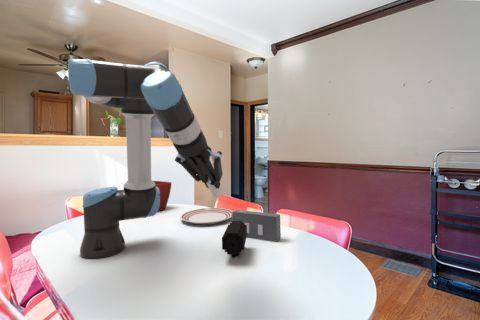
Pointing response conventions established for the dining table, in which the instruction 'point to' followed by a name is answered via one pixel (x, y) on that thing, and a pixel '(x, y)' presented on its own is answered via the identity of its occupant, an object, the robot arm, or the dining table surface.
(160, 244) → the dining table surface
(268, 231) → the charging block
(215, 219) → the dinner plate
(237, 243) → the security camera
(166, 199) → the plant pot
